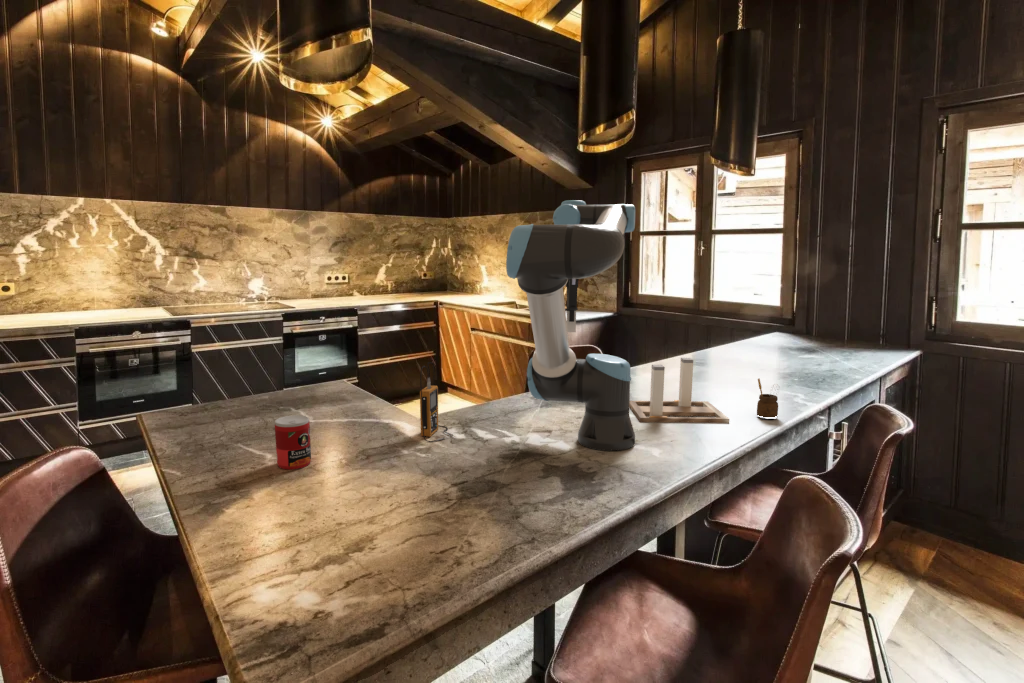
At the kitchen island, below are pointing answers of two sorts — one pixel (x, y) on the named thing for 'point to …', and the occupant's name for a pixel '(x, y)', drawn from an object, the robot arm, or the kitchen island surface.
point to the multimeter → (429, 409)
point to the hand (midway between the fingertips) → (571, 331)
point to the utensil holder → (767, 403)
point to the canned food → (293, 442)
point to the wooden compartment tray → (679, 412)
